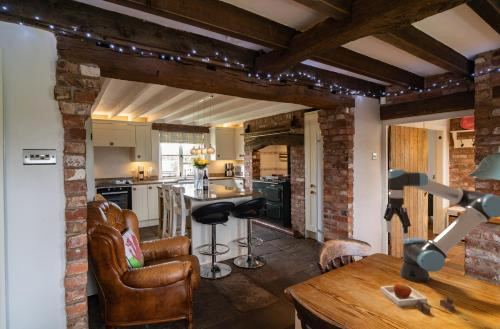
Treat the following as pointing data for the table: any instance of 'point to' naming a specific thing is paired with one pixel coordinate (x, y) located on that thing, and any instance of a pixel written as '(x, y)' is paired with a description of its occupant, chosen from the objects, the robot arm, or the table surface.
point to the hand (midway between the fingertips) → (396, 235)
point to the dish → (403, 302)
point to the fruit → (402, 290)
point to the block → (443, 303)
